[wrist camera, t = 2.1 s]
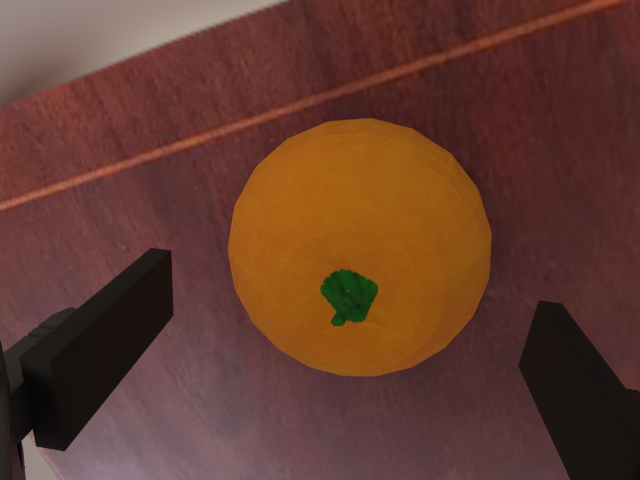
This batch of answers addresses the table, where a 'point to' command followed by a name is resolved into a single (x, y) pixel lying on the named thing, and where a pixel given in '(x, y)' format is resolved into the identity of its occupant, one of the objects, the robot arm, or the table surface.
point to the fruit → (360, 247)
